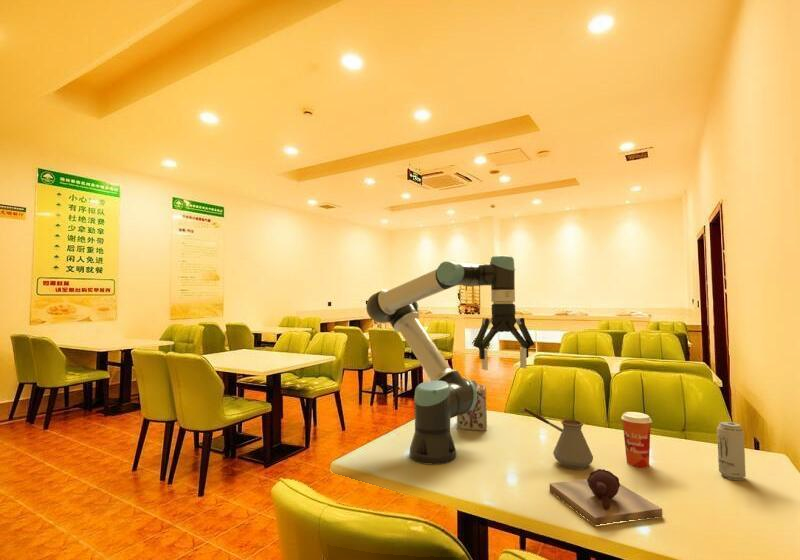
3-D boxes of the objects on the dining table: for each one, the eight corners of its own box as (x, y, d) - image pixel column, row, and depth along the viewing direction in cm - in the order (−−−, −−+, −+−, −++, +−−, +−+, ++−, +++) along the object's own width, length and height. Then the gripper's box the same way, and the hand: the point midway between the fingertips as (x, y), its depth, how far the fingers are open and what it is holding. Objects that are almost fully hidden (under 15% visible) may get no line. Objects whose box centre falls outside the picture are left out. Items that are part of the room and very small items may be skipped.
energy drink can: (713, 472, 121) (711, 421, 122) (731, 471, 122) (729, 420, 123) (732, 481, 115) (730, 427, 116) (751, 480, 116) (749, 426, 117)
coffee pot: (596, 462, 129) (595, 414, 130) (589, 475, 120) (587, 423, 121) (529, 448, 142) (528, 404, 142) (517, 459, 132) (516, 411, 133)
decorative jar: (458, 421, 174) (458, 378, 175) (486, 422, 172) (486, 379, 173) (456, 429, 162) (456, 383, 163) (486, 431, 160) (486, 384, 161)
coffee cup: (619, 464, 128) (617, 415, 128) (626, 456, 134) (625, 409, 135) (650, 471, 122) (648, 420, 123) (656, 463, 128) (654, 414, 129)
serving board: (595, 526, 93) (595, 517, 93) (549, 490, 110) (549, 483, 110) (662, 517, 96) (662, 508, 97) (607, 484, 114) (607, 476, 114)
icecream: (585, 457, 111) (581, 485, 98) (614, 455, 108) (615, 483, 94) (593, 483, 110) (590, 514, 97) (623, 482, 107) (625, 514, 94)
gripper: (471, 303, 128) (472, 372, 127) (543, 303, 134) (545, 368, 133) (463, 303, 136) (463, 368, 135) (531, 302, 141) (532, 365, 140)
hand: (504, 368), depth 134 cm, fingers open, 13 cm apart
